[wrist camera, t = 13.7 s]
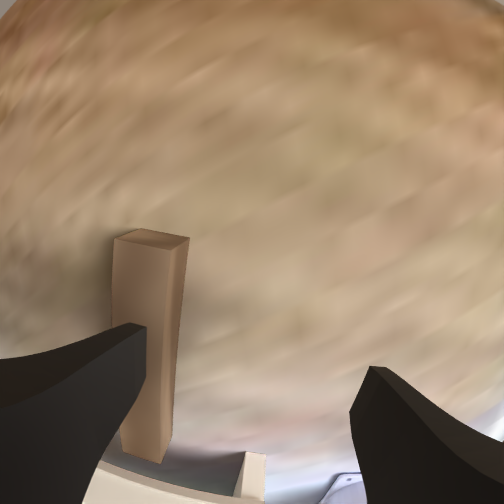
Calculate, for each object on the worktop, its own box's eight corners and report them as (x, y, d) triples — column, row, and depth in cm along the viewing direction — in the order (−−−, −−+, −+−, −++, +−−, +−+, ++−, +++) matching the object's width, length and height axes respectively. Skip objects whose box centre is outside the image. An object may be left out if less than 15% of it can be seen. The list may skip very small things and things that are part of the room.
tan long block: (191, 237, 17) (171, 250, 14) (173, 432, 21) (160, 464, 17) (143, 227, 17) (114, 238, 14) (138, 422, 21) (122, 451, 17)
